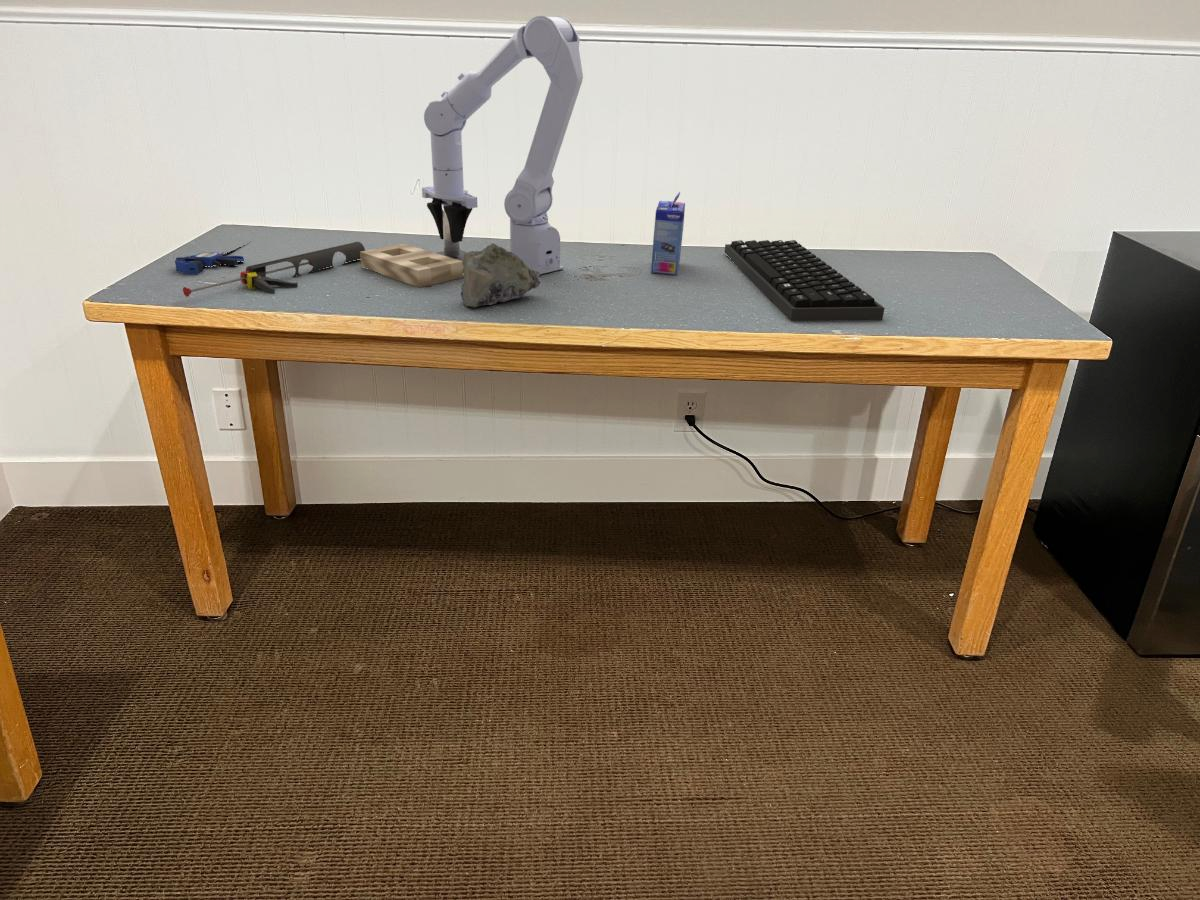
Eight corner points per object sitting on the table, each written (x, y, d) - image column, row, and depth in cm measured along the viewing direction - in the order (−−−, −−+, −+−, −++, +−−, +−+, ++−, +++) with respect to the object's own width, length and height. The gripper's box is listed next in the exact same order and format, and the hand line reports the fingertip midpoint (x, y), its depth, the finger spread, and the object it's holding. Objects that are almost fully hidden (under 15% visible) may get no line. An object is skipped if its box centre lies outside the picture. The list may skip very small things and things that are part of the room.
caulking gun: (385, 254, 166) (349, 236, 170) (212, 297, 138) (174, 274, 142) (384, 273, 168) (348, 255, 172) (214, 319, 140) (176, 296, 144)
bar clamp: (222, 263, 156) (167, 261, 156) (224, 277, 157) (169, 275, 157) (287, 231, 186) (241, 229, 186) (288, 242, 187) (242, 241, 187)
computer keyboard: (724, 257, 183) (725, 238, 181) (796, 256, 185) (798, 238, 183) (790, 324, 143) (793, 302, 141) (881, 323, 145) (885, 301, 143)
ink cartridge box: (679, 275, 166) (684, 198, 160) (650, 274, 167) (654, 196, 160) (681, 263, 175) (686, 189, 168) (653, 261, 176) (658, 187, 169)
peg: (462, 255, 172) (460, 203, 168) (450, 257, 170) (448, 205, 166) (453, 252, 174) (450, 201, 170) (441, 254, 172) (438, 203, 168)
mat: (487, 259, 173) (487, 257, 173) (447, 267, 166) (447, 266, 166) (455, 250, 179) (455, 248, 179) (416, 258, 172) (416, 256, 172)
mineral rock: (541, 294, 152) (541, 237, 148) (535, 313, 143) (535, 252, 138) (467, 292, 153) (465, 234, 148) (457, 310, 143) (454, 249, 138)
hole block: (463, 277, 161) (462, 261, 159) (419, 287, 154) (418, 270, 153) (404, 258, 171) (403, 243, 170) (361, 267, 165) (359, 251, 163)
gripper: (488, 171, 163) (491, 243, 169) (440, 161, 172) (444, 230, 178) (459, 175, 158) (462, 249, 164) (411, 165, 167) (416, 236, 173)
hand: (451, 240), depth 171 cm, fingers closed on peg, 3 cm apart
